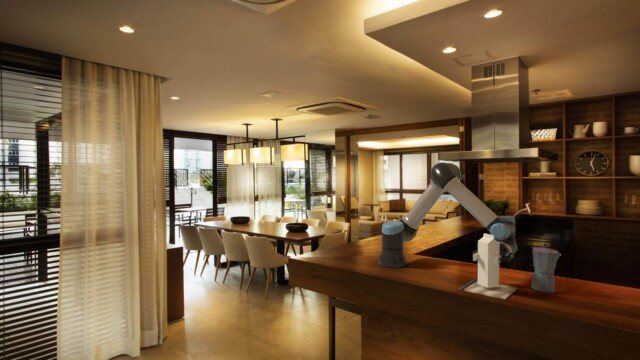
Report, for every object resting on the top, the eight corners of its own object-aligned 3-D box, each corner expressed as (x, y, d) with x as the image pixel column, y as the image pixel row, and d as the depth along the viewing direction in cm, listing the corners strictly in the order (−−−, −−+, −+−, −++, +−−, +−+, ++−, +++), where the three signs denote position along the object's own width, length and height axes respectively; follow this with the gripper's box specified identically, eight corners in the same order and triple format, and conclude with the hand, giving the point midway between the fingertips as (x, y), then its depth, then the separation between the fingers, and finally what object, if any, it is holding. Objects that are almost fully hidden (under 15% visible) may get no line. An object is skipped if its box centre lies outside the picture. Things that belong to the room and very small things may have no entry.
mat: (457, 289, 150) (457, 287, 150) (472, 280, 163) (472, 279, 163) (505, 299, 138) (505, 298, 138) (517, 289, 151) (517, 287, 151)
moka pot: (554, 296, 142) (554, 247, 142) (517, 286, 155) (518, 241, 155) (567, 293, 146) (567, 245, 146) (530, 283, 160) (531, 239, 160)
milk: (487, 288, 147) (488, 235, 146) (477, 283, 152) (477, 233, 152) (499, 286, 148) (499, 235, 148) (488, 282, 154) (489, 232, 154)
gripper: (525, 263, 157) (512, 272, 140) (477, 255, 171) (459, 264, 154) (526, 246, 157) (512, 254, 140) (477, 240, 171) (459, 247, 154)
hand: (484, 259), depth 147 cm, fingers closed on milk, 8 cm apart
